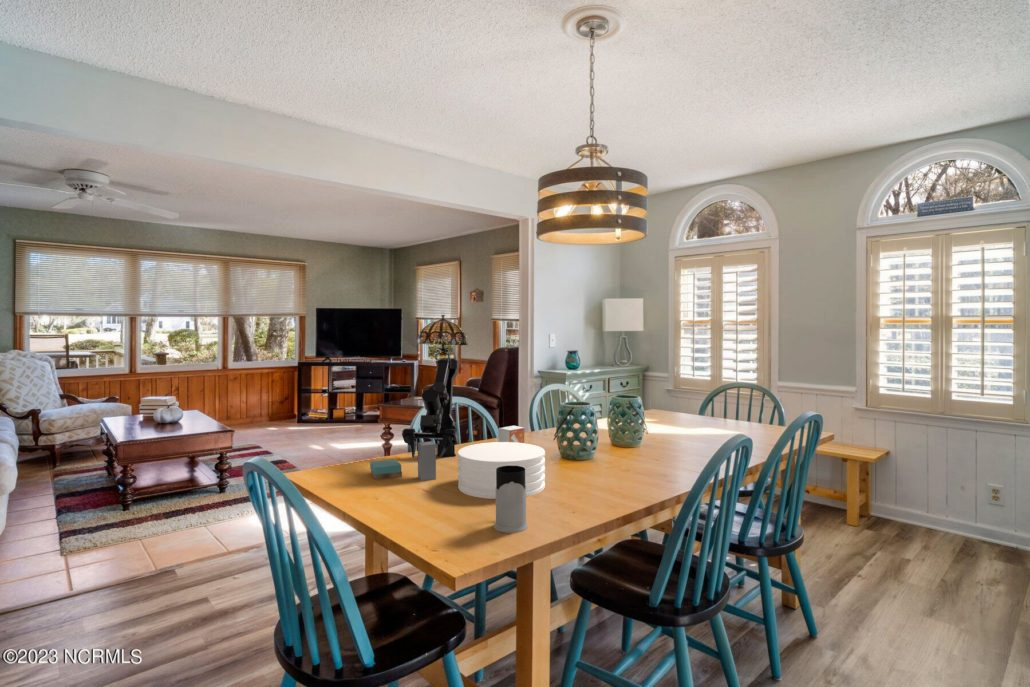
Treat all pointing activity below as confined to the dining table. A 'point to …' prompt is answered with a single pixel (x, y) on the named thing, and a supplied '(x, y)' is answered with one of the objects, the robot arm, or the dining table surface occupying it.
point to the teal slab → (385, 466)
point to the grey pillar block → (426, 461)
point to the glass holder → (510, 499)
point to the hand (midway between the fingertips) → (426, 457)
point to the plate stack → (487, 457)
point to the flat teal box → (386, 475)
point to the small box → (511, 434)
